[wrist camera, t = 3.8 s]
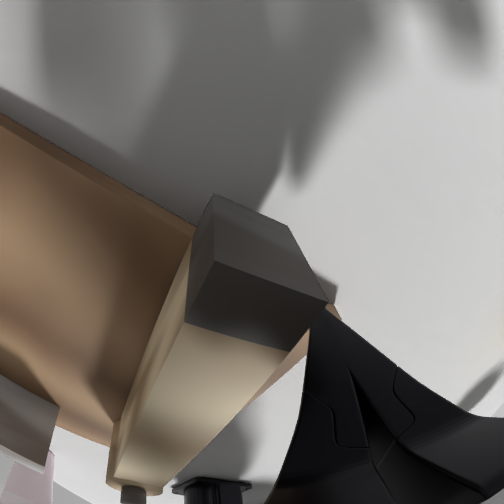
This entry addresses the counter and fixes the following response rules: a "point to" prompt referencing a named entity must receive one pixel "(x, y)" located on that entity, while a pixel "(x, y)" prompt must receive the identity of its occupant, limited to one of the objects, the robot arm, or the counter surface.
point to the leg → (213, 342)
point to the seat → (78, 295)
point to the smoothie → (29, 484)
